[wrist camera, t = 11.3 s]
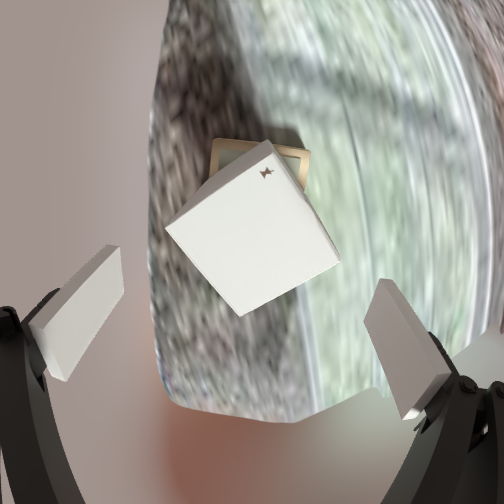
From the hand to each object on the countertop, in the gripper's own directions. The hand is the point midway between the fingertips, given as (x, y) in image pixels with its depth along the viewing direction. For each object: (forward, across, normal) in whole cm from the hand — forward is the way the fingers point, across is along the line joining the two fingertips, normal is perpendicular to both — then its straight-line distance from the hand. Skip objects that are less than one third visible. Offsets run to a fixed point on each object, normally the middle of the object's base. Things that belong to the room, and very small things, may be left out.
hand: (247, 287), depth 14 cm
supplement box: (+20, 0, 0) cm, 21 cm away
